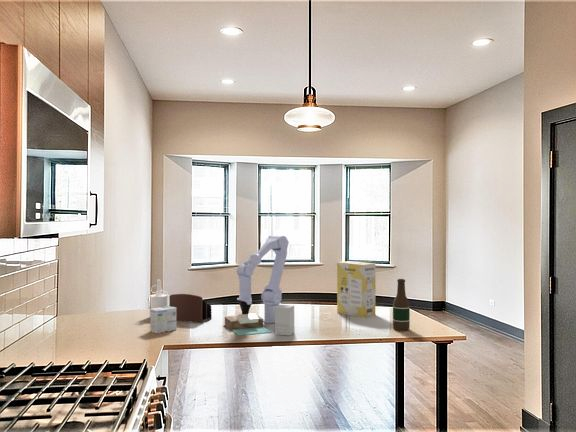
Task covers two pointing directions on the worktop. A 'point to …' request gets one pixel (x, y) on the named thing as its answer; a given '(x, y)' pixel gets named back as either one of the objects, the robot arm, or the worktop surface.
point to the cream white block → (247, 318)
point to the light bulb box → (163, 319)
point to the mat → (251, 331)
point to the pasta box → (356, 288)
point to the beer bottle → (401, 308)
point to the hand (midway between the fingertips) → (245, 316)
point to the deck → (234, 324)
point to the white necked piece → (159, 297)
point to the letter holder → (190, 308)
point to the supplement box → (284, 320)
